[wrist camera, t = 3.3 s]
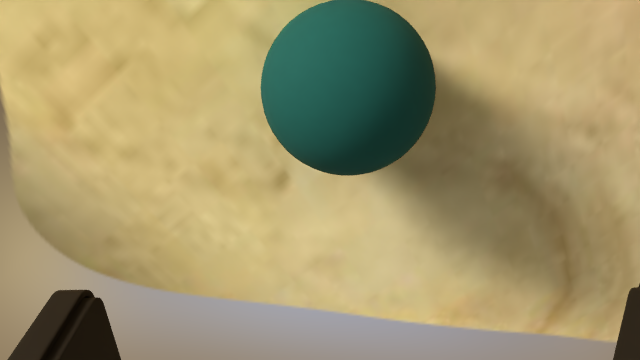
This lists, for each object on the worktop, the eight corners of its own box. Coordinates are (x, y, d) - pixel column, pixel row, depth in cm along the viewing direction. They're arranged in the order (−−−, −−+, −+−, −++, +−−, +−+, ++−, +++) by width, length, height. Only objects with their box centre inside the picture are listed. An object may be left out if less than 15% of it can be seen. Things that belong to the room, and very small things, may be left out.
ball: (279, 136, 25) (262, 212, 20) (261, -12, 22) (236, 31, 17) (423, 128, 24) (445, 203, 19) (424, -23, 22) (452, 17, 16)
